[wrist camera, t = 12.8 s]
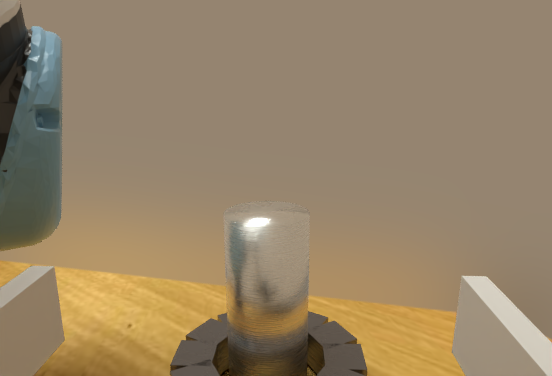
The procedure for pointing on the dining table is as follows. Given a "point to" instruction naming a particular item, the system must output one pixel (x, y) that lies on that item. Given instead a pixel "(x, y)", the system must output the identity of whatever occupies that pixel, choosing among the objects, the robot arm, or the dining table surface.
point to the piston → (267, 288)
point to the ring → (320, 353)
